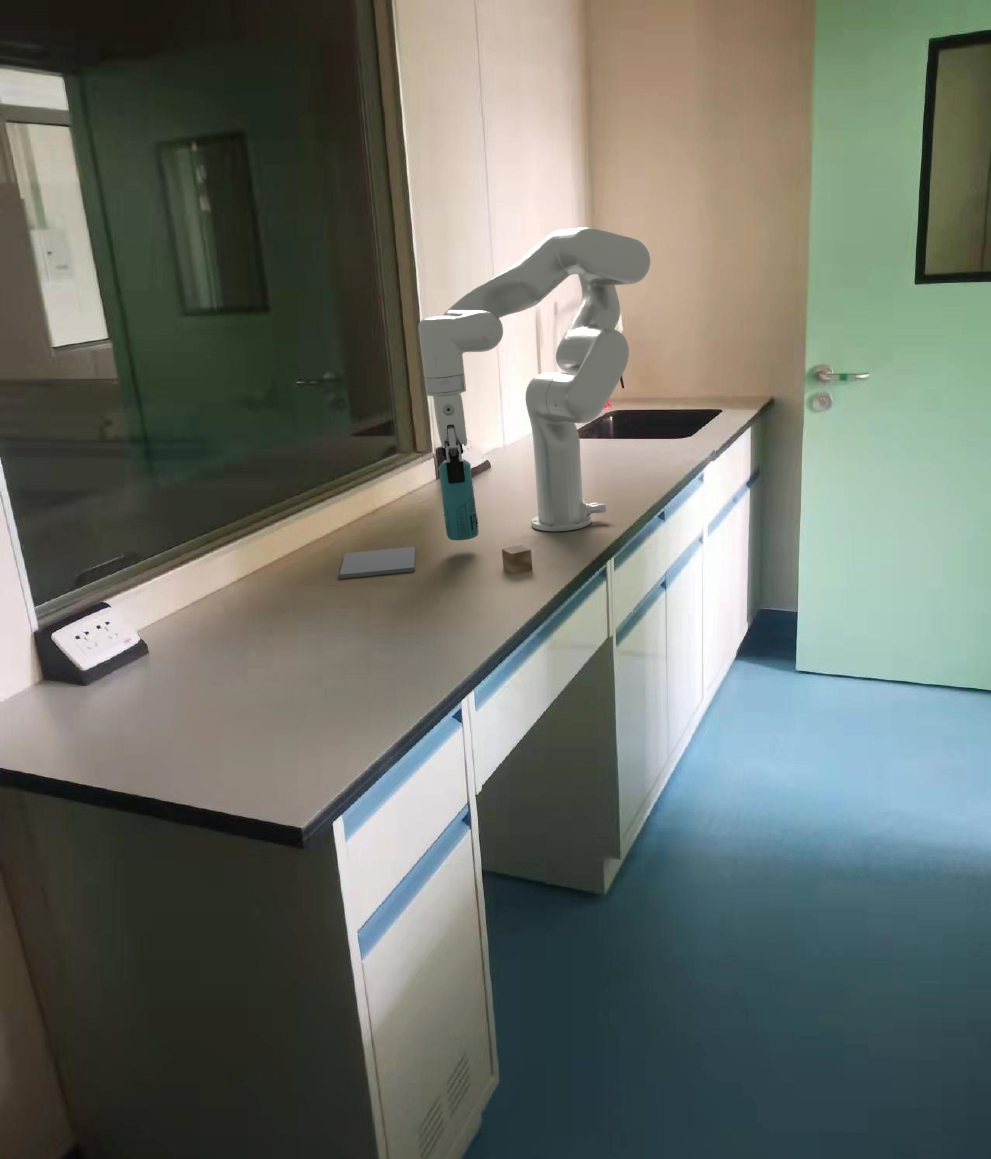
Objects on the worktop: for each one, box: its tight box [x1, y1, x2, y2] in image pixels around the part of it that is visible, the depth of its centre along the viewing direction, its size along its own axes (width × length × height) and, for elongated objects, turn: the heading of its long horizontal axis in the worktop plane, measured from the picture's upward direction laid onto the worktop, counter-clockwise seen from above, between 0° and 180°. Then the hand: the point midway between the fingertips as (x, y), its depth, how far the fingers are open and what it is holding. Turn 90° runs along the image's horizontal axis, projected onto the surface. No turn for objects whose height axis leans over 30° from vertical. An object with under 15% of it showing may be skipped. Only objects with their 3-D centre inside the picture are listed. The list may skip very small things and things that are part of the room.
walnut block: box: [501, 544, 533, 575], centre depth 181 cm, size 4×4×4 cm
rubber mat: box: [339, 546, 416, 579], centre depth 191 cm, size 14×14×1 cm
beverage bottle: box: [438, 442, 480, 541], centre depth 191 cm, size 6×7×20 cm
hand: (456, 477), depth 190 cm, fingers closed on beverage bottle, 6 cm apart
